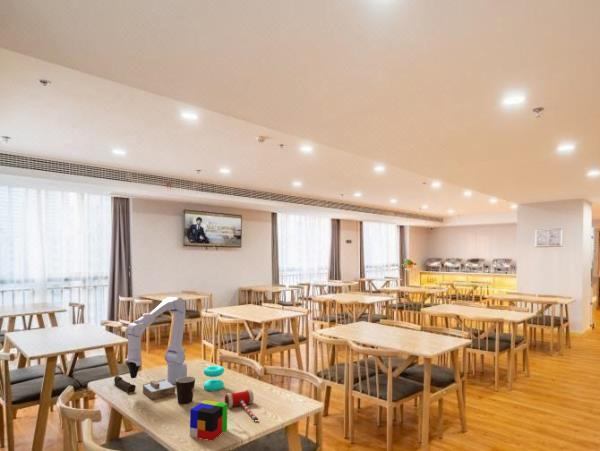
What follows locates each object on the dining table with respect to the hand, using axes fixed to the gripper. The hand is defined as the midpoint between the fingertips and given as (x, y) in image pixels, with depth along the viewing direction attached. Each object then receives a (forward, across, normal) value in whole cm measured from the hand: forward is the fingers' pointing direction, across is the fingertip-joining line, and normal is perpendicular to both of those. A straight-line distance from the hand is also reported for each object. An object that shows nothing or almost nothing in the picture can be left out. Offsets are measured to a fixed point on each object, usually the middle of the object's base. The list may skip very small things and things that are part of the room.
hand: (133, 377), depth 191 cm
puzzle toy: (+9, +57, +9) cm, 58 cm away
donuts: (+9, +15, +34) cm, 39 cm away
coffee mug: (+9, +23, +14) cm, 28 cm away
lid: (+5, +5, +10) cm, 13 cm away
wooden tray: (+8, +5, +10) cm, 14 cm away
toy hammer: (+9, +47, +32) cm, 58 cm away
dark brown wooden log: (+9, -14, -1) cm, 16 cm away
